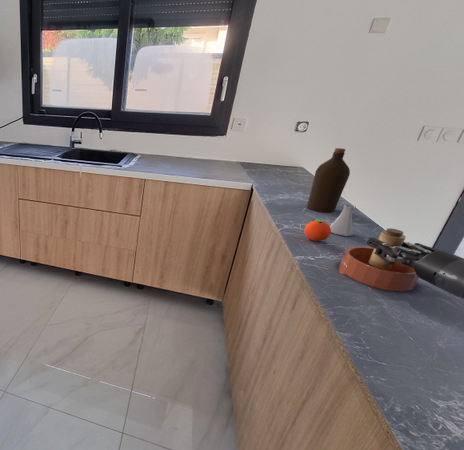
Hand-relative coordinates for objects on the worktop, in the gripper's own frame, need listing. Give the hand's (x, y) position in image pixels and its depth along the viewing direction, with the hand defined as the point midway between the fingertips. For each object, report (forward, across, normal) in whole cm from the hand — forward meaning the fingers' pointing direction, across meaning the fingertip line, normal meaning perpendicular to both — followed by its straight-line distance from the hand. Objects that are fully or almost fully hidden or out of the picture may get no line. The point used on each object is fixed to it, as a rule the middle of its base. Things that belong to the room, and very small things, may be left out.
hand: (378, 240), depth 82 cm
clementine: (+21, -2, +10) cm, 24 cm away
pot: (-3, 0, +10) cm, 11 cm away
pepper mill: (-3, 0, +6) cm, 7 cm away
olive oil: (+48, -27, +10) cm, 56 cm away
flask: (+26, -16, +10) cm, 32 cm away
